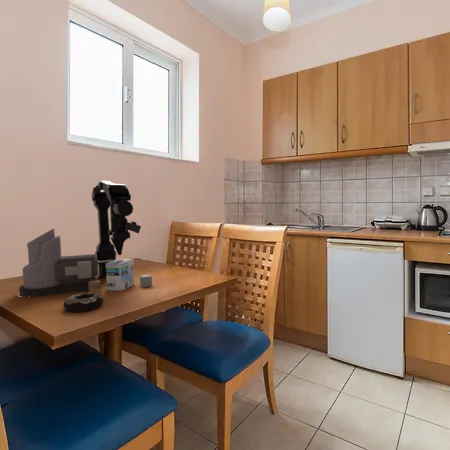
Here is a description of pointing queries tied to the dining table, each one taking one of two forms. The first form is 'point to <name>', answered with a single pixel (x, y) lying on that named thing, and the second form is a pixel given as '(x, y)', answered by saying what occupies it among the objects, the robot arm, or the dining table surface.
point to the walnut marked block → (94, 286)
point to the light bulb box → (120, 274)
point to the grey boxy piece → (55, 269)
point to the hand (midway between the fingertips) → (119, 255)
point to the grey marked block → (145, 280)
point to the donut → (83, 302)
